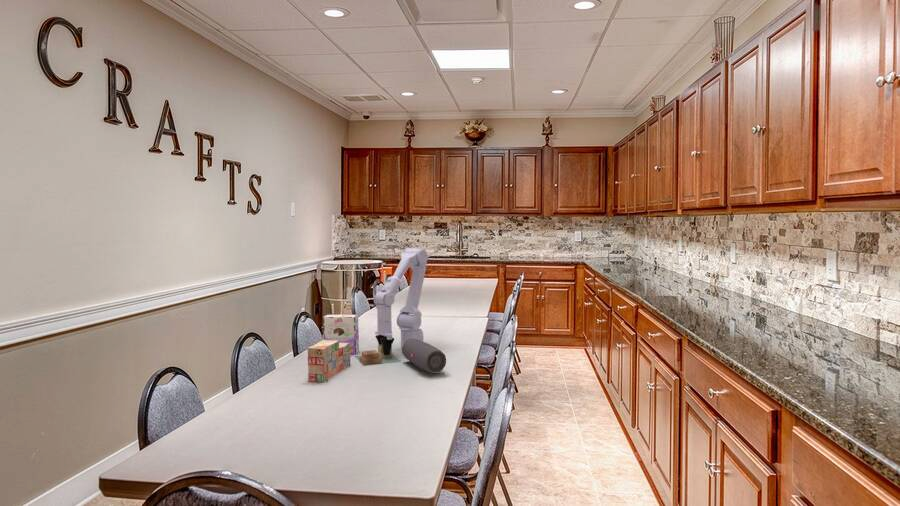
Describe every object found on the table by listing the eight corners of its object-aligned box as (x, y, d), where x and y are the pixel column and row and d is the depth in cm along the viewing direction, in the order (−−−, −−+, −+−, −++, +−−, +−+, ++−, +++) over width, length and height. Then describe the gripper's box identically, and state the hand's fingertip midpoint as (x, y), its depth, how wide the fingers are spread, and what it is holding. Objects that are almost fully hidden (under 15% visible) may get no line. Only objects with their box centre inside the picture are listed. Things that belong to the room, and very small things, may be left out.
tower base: (376, 359, 220) (376, 354, 220) (381, 363, 214) (381, 358, 214) (359, 361, 217) (359, 356, 217) (364, 365, 211) (364, 360, 211)
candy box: (359, 352, 233) (358, 314, 232) (355, 355, 228) (355, 316, 227) (328, 351, 235) (327, 313, 234) (323, 355, 229) (322, 316, 228)
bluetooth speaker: (400, 363, 215) (400, 338, 215) (421, 360, 220) (421, 335, 219) (424, 378, 195) (424, 350, 195) (447, 374, 200) (447, 347, 199)
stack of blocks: (336, 365, 213) (335, 334, 212) (350, 366, 212) (350, 335, 211) (308, 381, 193) (307, 347, 192) (324, 383, 191) (323, 348, 190)
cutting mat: (389, 353, 231) (389, 352, 231) (401, 362, 217) (401, 361, 217) (354, 357, 225) (354, 356, 225) (364, 366, 211) (364, 365, 211)
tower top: (375, 354, 219) (375, 350, 219) (379, 358, 214) (379, 353, 214) (361, 356, 217) (361, 351, 217) (365, 359, 212) (365, 354, 212)
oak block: (388, 354, 228) (388, 343, 228) (391, 356, 224) (391, 345, 224) (378, 355, 226) (378, 344, 226) (381, 357, 222) (381, 346, 222)
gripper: (370, 318, 229) (370, 350, 230) (380, 324, 216) (380, 358, 217) (386, 317, 232) (386, 348, 233) (397, 323, 219) (397, 356, 220)
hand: (384, 353), depth 225 cm, fingers closed on oak block, 4 cm apart
